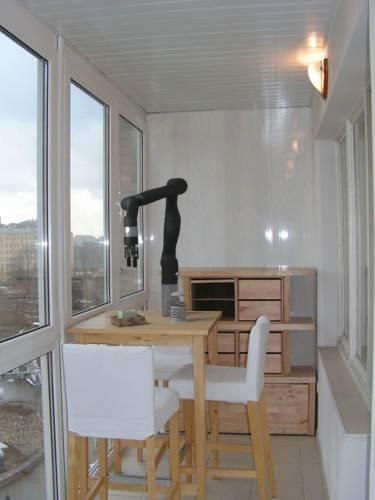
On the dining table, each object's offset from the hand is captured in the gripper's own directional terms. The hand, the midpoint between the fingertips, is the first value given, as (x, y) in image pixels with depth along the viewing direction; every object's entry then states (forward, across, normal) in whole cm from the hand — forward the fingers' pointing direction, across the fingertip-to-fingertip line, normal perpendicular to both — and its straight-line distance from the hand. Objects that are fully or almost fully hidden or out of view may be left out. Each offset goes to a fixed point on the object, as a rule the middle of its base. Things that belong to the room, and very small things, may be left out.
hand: (131, 267), depth 283 cm
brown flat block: (+28, -8, +6) cm, 30 cm away
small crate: (+27, -8, +6) cm, 29 cm away
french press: (+28, -15, -18) cm, 37 cm away
